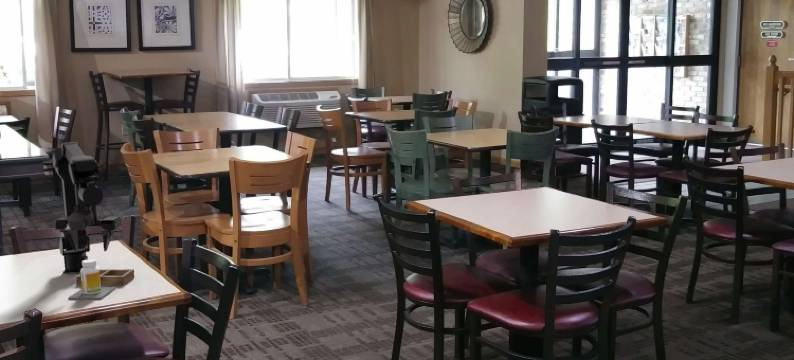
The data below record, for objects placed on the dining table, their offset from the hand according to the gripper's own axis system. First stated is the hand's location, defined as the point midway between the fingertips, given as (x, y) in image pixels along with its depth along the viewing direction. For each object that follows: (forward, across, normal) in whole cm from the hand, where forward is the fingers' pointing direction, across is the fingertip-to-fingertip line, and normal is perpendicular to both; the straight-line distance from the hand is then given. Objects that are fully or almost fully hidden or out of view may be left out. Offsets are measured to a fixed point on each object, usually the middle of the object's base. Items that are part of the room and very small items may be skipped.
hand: (90, 250), depth 258 cm
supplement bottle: (+12, +1, -3) cm, 13 cm away
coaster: (+12, +1, -3) cm, 13 cm away
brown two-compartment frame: (+13, -1, +10) cm, 16 cm away
